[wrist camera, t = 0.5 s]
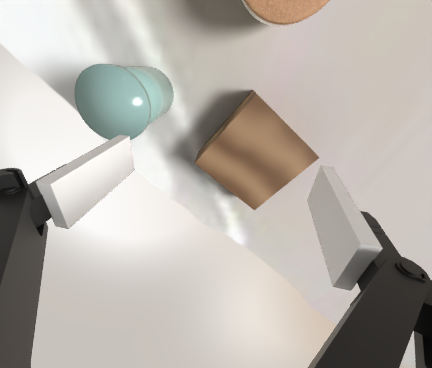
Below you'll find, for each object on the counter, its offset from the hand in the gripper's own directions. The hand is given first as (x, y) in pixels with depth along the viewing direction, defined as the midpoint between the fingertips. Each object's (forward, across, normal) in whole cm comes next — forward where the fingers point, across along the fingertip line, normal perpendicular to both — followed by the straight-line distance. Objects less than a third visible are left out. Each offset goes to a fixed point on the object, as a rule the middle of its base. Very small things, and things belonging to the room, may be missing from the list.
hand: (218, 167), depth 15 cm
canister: (+20, -14, 0) cm, 24 cm away
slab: (+21, +3, -7) cm, 22 cm away
